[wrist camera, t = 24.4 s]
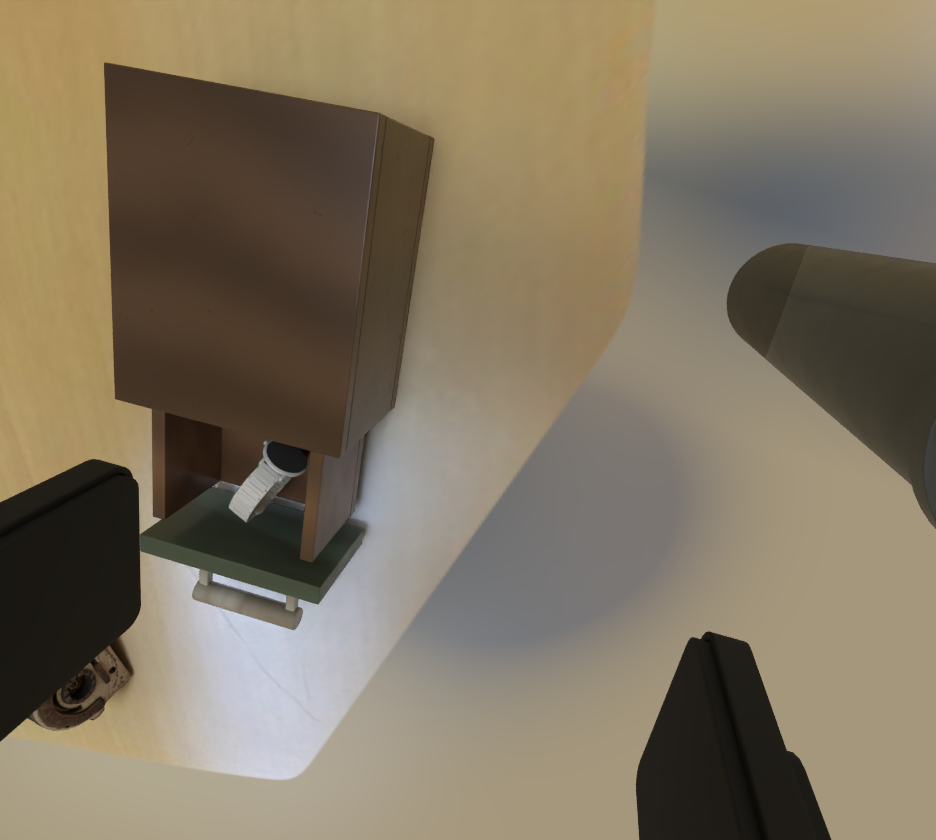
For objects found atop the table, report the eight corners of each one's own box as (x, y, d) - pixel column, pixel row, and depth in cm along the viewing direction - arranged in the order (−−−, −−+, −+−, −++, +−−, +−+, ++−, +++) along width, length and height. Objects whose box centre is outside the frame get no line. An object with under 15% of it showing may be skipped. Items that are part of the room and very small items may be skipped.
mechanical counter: (88, 773, 47) (66, 706, 42) (-65, 731, 47) (-107, 658, 42) (144, 690, 53) (131, 621, 48) (8, 653, 53) (-21, 580, 48)
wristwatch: (325, 453, 37) (286, 486, 33) (284, 503, 39) (242, 542, 34) (289, 423, 37) (245, 453, 32) (250, 475, 39) (203, 510, 34)
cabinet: (394, 407, 37) (339, 459, 29) (212, 361, 39) (114, 399, 31) (434, 138, 32) (380, 112, 24) (220, 98, 33) (103, 61, 26)
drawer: (354, 597, 42) (311, 665, 36) (207, 554, 43) (141, 612, 37) (390, 336, 35) (345, 363, 29) (215, 295, 36) (135, 312, 30)
